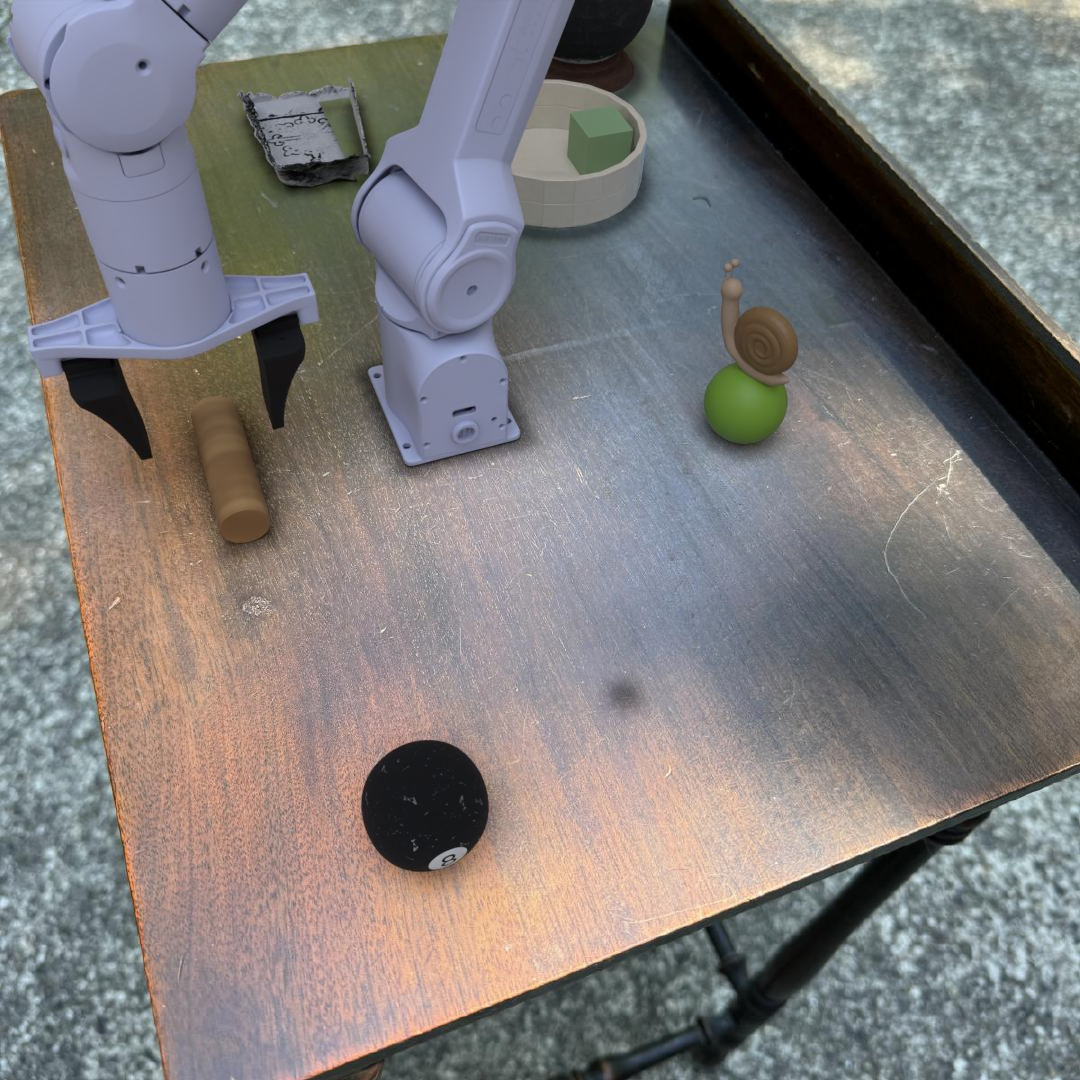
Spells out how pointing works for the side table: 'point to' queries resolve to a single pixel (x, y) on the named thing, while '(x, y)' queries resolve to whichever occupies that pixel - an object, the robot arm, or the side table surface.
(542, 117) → the bowl
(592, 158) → the green block
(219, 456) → the brown wooden cylinder
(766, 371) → the snail figurine
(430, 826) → the billiard ball
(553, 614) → the side table surface
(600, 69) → the snow globe
